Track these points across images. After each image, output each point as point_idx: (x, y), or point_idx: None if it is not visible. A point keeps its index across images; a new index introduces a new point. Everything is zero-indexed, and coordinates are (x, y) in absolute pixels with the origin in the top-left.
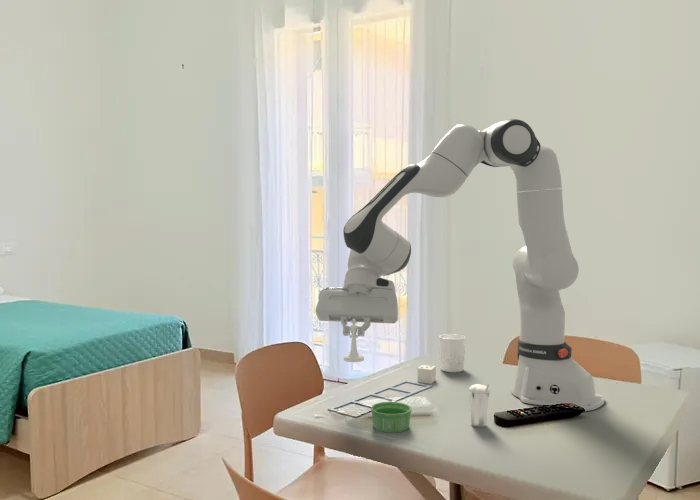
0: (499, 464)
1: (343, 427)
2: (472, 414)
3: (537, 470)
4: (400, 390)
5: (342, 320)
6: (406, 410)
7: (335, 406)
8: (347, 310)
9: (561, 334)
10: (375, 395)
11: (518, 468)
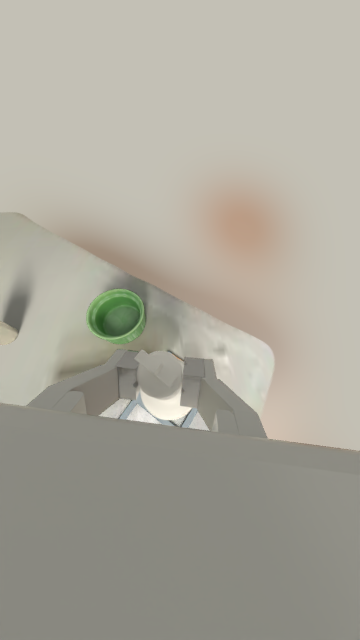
0: (43, 245)
1: (182, 315)
2: (4, 325)
3: (18, 238)
4: None
5: (237, 406)
6: (94, 322)
7: None
8: (224, 472)
9: None
10: None
11: (31, 240)
